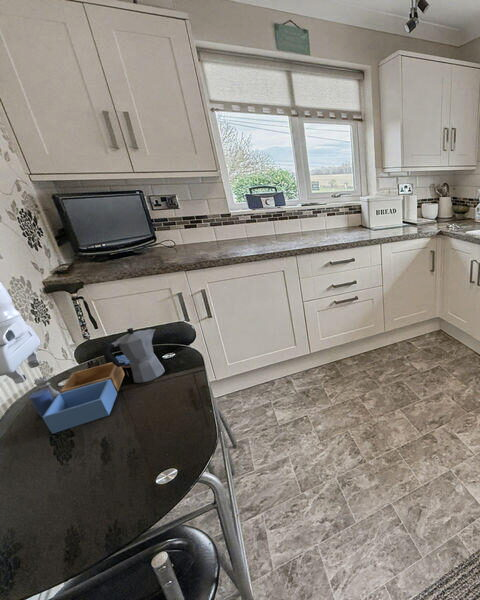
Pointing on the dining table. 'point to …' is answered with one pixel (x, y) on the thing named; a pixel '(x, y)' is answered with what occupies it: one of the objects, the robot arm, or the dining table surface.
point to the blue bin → (80, 406)
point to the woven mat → (124, 359)
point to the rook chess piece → (45, 386)
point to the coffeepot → (137, 355)
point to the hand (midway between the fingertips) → (28, 373)
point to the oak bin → (95, 377)
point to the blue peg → (42, 401)
